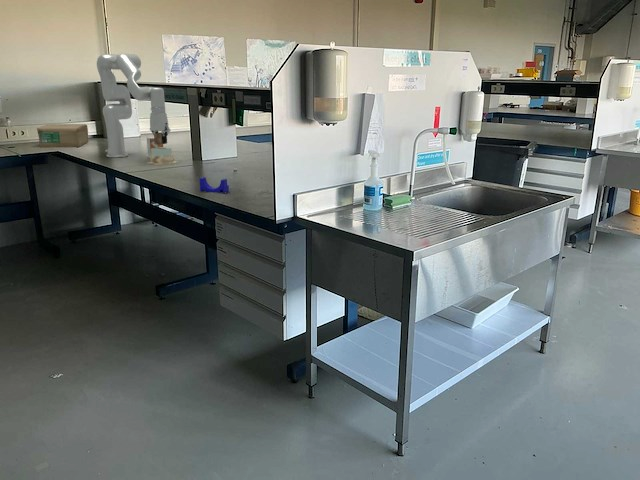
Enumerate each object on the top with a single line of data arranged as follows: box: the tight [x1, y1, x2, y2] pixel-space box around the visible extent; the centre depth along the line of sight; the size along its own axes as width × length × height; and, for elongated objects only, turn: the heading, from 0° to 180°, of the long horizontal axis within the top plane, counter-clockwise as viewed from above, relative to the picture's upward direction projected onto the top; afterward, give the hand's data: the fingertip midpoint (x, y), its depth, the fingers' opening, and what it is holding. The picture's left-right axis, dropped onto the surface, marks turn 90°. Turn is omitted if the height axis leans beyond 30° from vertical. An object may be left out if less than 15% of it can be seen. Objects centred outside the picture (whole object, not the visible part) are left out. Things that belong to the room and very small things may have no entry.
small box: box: [146, 136, 164, 159], centre depth 319 cm, size 8×6×13 cm
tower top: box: [151, 146, 173, 157], centre depth 304 cm, size 8×8×4 cm
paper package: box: [36, 123, 89, 148], centre depth 370 cm, size 27×26×14 cm
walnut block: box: [153, 132, 168, 145], centre depth 302 cm, size 5×5×6 cm
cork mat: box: [145, 160, 180, 166], centre depth 306 cm, size 14×14×1 cm
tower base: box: [149, 154, 175, 164], centre depth 305 cm, size 9×9×4 cm
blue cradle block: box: [199, 176, 230, 194], centre depth 237 cm, size 12×4×6 cm, turn 73°
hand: (160, 142), depth 302 cm, fingers closed on walnut block, 5 cm apart
